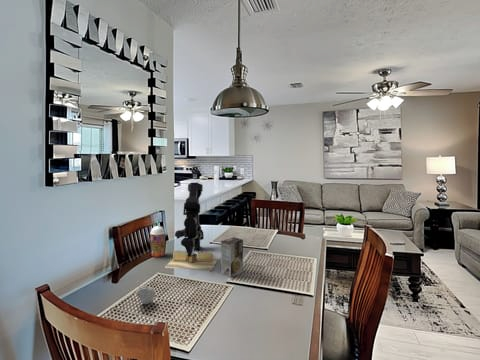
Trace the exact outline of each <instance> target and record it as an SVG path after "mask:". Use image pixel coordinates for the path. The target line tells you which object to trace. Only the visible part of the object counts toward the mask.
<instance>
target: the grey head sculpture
mask: <svg viewBox="0 0 480 360" xmlns="http://www.w3.org/2000/svg"><path fill="white" fill-rule="evenodd" d="M155 291H156V290H155V288H154V287H152V286H148V285H140V286H139V287H138V289H137V290H136V291H135V292H136V296H137V297H138V298H139V302H141V304H143V305H148V304H151V302H152V301H153V300H154V298H155V294H156V293H155Z"/></svg>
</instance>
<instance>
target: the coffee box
mask: <svg viewBox="0 0 480 360" xmlns="http://www.w3.org/2000/svg"><path fill="white" fill-rule="evenodd" d="M220 243H221V248H220V249H221V250H220V251H221V252H220V255H221V256H220V257H221V259H220V260H221V262H220V263H221V264H220V265H221V266H220V269H221V271H220V272H221V275H222V276H226V277H228V278H233V277H235V276H237V275H239V274H241V273H243V272H244V253H243V252H244V240H243V239H241V238H238V237H234V236H233V237H229V238H227V239H224V240H221V242H220Z"/></svg>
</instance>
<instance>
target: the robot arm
mask: <svg viewBox="0 0 480 360" xmlns="http://www.w3.org/2000/svg"><path fill="white" fill-rule="evenodd" d="M203 187H204V186H203V184H202V183H199V182H190V183H188V184H187V191H188V193H189V194H188V197H187V198H186V199H185V202H184V204H183V216H185V219H184V220H183V221H184V222H183V225H184V228H182V229H178V230H175V233H174V237H175V238H176V239H177V240H179V239H180V238H182V239H181V240H180V245H181V246H183V247H184V248H185V251H187V254H188V257H191V254H192V251H193V248H194V247H195V248H194V252H197V251H198V252H201V249H202V246H201V241H203V240H204V238H205V237H204V231H203V229H202V226H201V224H200V213H201V204H200V198H201V196H202V194H203V193H202V192H203V191H204V190H203ZM183 237H184V238H183Z"/></svg>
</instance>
